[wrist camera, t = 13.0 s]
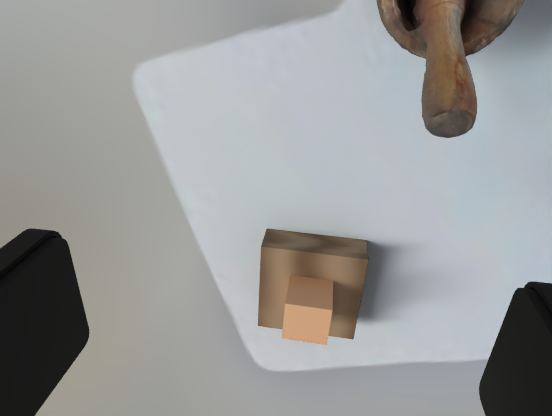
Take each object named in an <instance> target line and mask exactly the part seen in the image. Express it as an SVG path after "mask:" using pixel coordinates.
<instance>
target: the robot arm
mask: <svg viewBox="0 0 552 416" xmlns="http://www.w3.org/2000/svg"><path fill="white" fill-rule="evenodd" d="M88 338H89V327H88V323H87V319H86V315H85V311H84V306H83V303H82V298H81V295H80V290H79V286H78V282H77V278H76V274H75V270H74V266H73V262H72V258H71V254H70V250H69V246H68V243H67V241H66V240H65V239H63V238H62V237H61V235H60V234H59V233H58V232H56V231H51V230H40V229H27V230H25V231H23V232H22V233H21V234H19V235H18V236H17V237H16V238H14V239H13V240H11V241H10V242H9V243H7V244H6V245H5V246H3V247H2V248H1V249H0V416H35V414H36V413H37V411H38V410H39V409H40V407H41V406H42V405H43V403H44V402H45V400H46V399H47V398H48V396H49V395H50V394H51V392H52V391H53V389H54V388H55V387H56V385H57V384H58V382H59V381H60V380H61V379H62V377H63V375H64V374H65V373H66V372H67V370H68V369H69V368H70V366H71V365H72V363H73V362H74V361H75V359H76V358H77V357H78V355H79V354H80V352H81V351H82V349H83V348H84V347H85V345H86V343H87V341H88ZM479 394H480V400H481V403H482V406H483V409H484V412H485V415H486V416H552V284H551V283H542V282H528V283H527V284H526V285H525V287H524V288H518V289H517V290H516V291H515V292H514V295H513V297H512V300H511V302H510V305H509V308H508V310H507V313H506V315H505V318H504V321H503V323H502V326H501V329H500V331H499V334H498V336H497V339H496V342H495V344H494V347H493V349H492V352H491V355H490V357H489V360H488V363H487V365H486V368H485V370H484V373H483V376H482V379H481V381H480V386H479Z"/></svg>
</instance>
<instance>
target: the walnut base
mask: <svg viewBox="0 0 552 416" xmlns="http://www.w3.org/2000/svg"><path fill="white" fill-rule="evenodd" d="M367 265H368V250H367V240H359V239H350V238H341V237H333V236H324V235H316V234H307V233H298V232H290V231H281V230H273V229H267V230H266V233H265V236H264V239H263V242H262V246H261V263H260V288H259V313H258V326H263V327H270V328H277V329H283V320H284V309H285V301H286V295H287V290H288V284H289V279H290V275H294V276H301V277H309V278H316V279H324V280H331V281H333V309H332V316H331V322H330V328H329V334H328V336H334V337H341V338H348V339H353V338H354V333H355V328H356V323H357V317H358V312H359V307H360V302H361V296H362V291H363V286H364V281H365V275H366V270H367Z"/></svg>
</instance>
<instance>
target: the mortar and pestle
mask: <svg viewBox="0 0 552 416" xmlns="http://www.w3.org/2000/svg"><path fill="white" fill-rule="evenodd" d="M523 2H524V0H377V5H378V9H379V13H380V17H381V20H382V22H383V24H384V26H385V28H386V30H387V31H388V33H389V34H390V35H391V36H392V37H393V38H394V39H395V41H396V42H397V43H398V44H399V45H400V46H401V47H402V48H404V49H406V50H408V51H409V52H410V53H411V54H414V55H417V56H419V57H422V58H425V59H426V72H425V74H424V82H423V90H422V117H423V120H424V123H425V127H426V129H427V130H428V131H429V132H430V133H431V134H433V135H435V136H439V137H446V138H451V137H456V136H460V135H462V134H465V133H466V132H468V131H469V130H470V129H471V128H472V127H473V125H474V122H475V119H476V114H477V98H476V92H475V86H474V82H473V78H472V74H471V71H470V68H469V65H468V63H467V60H466V58H465V57H466V56H468V55H470V54H474V53H476V52H478V51H480V50H481V49H483V48H484V47H486V46H487V45H489V44H490V43H491V42H492V41H493V40H494V39H495V38H496V37H498V36H499V35H501V34H502V33H503V32H504V31H505V30H506V28H507V27H508V26H509V25H510V23H511V22H512V20H513V19H514V18H515V16H516V14H517V13H518V11H519V9H520V8H521V6H522V4H523Z"/></svg>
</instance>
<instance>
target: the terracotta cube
mask: <svg viewBox="0 0 552 416" xmlns="http://www.w3.org/2000/svg"><path fill="white" fill-rule="evenodd" d="M332 309H333V281H331V280H324V279H316V278H309V277H301V276H294V275H290V279H289V284H288V290H287V295H286V301H285V309H284V320H283V331H282V338H284V339H291V340H297V341H304V342H310V343H317V344H324V345H327V340H328V334H329V328H330V322H331V316H332Z"/></svg>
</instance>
